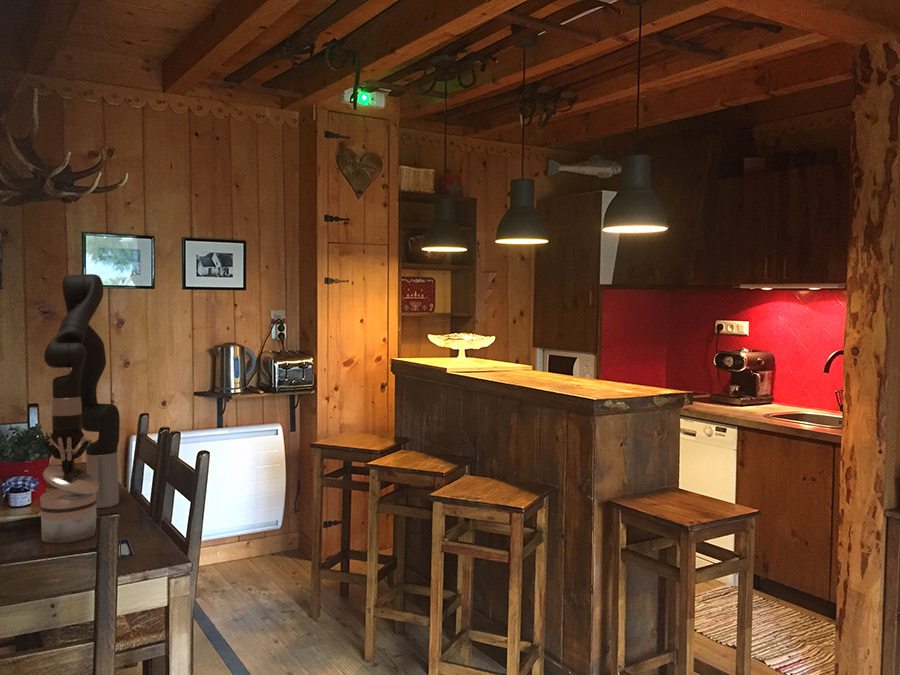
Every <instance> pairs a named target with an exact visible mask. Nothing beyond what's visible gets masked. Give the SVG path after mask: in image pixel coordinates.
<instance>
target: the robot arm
mask: <svg viewBox="0 0 900 675" xmlns="http://www.w3.org/2000/svg"><path fill="white" fill-rule="evenodd" d="M61 284H62V294H63V299H64V305H65V308H66V313H67V314H66V315H65V316H64V318H63V319H62V321H61V324H60V327H59V330H58V333H57V334H56V335H55V336H54V337H53V338H52V340H50V342H49V343H48V344H47V346H46V348H45V350H44V354H43V359H44V361H45V362H44V363H45V364H46V365H47V366H49V367H50V368H53V369H56V368H57V369H60V368H61V369H63V368H70V369H71V370H70V372H69V373H68V374H65V375H61V376H60V375H59V376H56V377H54V378H53V379H52V402H51V422H52V423H51V424H52V426H51V427H52V432H51V435H50V438H48V440H46V441H44V442H43V446H44V447H45V448H46V450H47V451H48V452H49V453H50V455H51V456H52V457H53V458H54V459H55V460H60V461H61V466H62V471H63V472H64V474H67V473H69V472H71V471H73V470H74V469H75V460H76V459H78V458H80V457H82V455H83V454H86V455H85V457H86V459H85V460H86V473H87V474H88V475H90V476H92V477H93V478H95V479H96V480H97V481H98V483H99V488H98V491H97V492H96V498H97V503H96V509H103V508H110V507H115V506H116V505H118V504H120V494H119V493H120V492H119V488H120V486H119V461H118V459H119V458H118V457H119V456H118V446H119V443H120V427H121V426H120V424H121V423H120V421H121V420H120V419H121V417H120V412H119V409H118V407H117V406H116V405H115V404H113V403H98V400H97V398H98V396H97V388H98V383H99V382H100V381H99V380H100V379H101V377H102V375H103V373H104V371H105V368H106V366H107V357H106V348H105V344H104V341H103V340H102V338H101V336H100V335H99V334H98V333H97V332H96V331H95V330H94V328H92V326H91V325H90V322H91V319H92V318H93V316H94V315H95V314H96V311H97V309H98V308H99V307H100V304H101V302H102V299H103V297H104V284H103V280H102V278H101V276H100V275H98V274H94V273H87V274H86V273H85V274H70V275H65V276H64V277H63V280H62V283H61ZM83 430H84V431H86V432H92V433H98V437H97V438H98V439H97V440H95V441H92V440H91V439H88V438H86V437H85V435H84V432H83ZM79 445H80V447H79V448H78V449H77V446H79ZM85 452H86V453H85Z"/></svg>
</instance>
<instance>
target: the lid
mask: <svg viewBox="0 0 900 675" xmlns="http://www.w3.org/2000/svg"><path fill="white" fill-rule="evenodd" d="M42 478H43V480H44V481H46V482H47V483H48V484H49V485H51V487H55V488H56V489H57V490H58V489H61V490H64V491H67V492H70V493H75V494H82V495H90V494H94V493H96V492H97V491H98V488H99V483H98V481H97V480H96V479H95V478H93V477H92V476H90V475H88V474H87V472H85V471H83V470H81V469H79V468H74V470H73V471H71V472H69V473H67V474H64V472H63V471H62V465H51V466H47V467H46V468H45V469H44V470H43V472H42Z"/></svg>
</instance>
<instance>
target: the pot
mask: <svg viewBox="0 0 900 675" xmlns="http://www.w3.org/2000/svg"><path fill="white" fill-rule="evenodd" d="M39 499H40V500H39V502H40V503H39V504H40V505H39V510H40V521H41V522H40V523H41V525H40V526H41V540H42V541H43V542H45V543H49V544H64V543H65V544H66V543H72V542H77V541H82V540H85V539H88V538H91V537H93V536H95V535H96V534H95V529H96V519H97V516H98V515H97V508H96V503H97V498H96V493H94V494H90V495H82V494H75V493H70V492H67V491H64V490H61V489H58V488H57V489H54V490H49V491H46V492H43V493H42V494H41V495H40V496H39Z"/></svg>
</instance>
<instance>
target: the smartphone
mask: <svg viewBox="0 0 900 675" xmlns="http://www.w3.org/2000/svg"><path fill="white" fill-rule="evenodd" d="M118 540H119V560H118V561H120V540H121V558H123V557H127V556H132V555H134V556H135V554H134V551H133V548H132V545H131V542H130V539H128V538H126V539H125V538H124V539H118ZM122 554H123V555H122ZM128 554H129V555H128Z"/></svg>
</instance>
